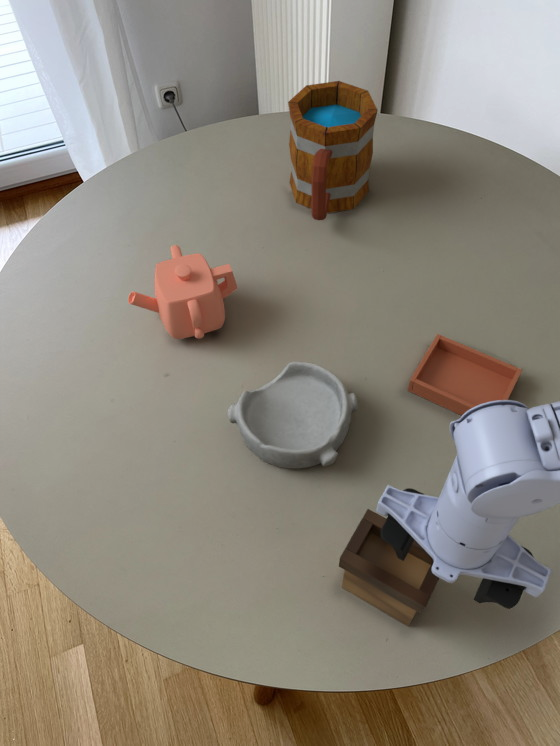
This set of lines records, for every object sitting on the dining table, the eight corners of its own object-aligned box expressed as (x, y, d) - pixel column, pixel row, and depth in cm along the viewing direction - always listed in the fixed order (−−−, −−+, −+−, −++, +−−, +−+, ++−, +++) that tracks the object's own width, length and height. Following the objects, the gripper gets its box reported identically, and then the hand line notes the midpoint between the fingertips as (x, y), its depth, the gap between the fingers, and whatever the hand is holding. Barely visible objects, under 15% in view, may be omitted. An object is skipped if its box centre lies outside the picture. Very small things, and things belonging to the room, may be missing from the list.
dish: (218, 438, 82) (214, 417, 78) (281, 364, 88) (280, 341, 84) (314, 498, 77) (315, 479, 73) (373, 415, 83) (377, 394, 79)
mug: (296, 158, 114) (296, 77, 102) (373, 165, 112) (382, 84, 100) (274, 235, 103) (270, 154, 91) (359, 244, 101) (367, 164, 89)
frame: (446, 561, 65) (451, 552, 63) (421, 614, 62) (425, 607, 60) (365, 517, 68) (367, 508, 66) (338, 566, 65) (339, 558, 63)
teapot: (134, 331, 93) (118, 284, 85) (182, 277, 98) (171, 228, 90) (201, 363, 89) (191, 317, 81) (247, 305, 95) (242, 257, 87)
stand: (427, 586, 71) (439, 563, 65) (408, 627, 68) (418, 607, 62) (362, 549, 73) (368, 523, 67) (341, 587, 71) (345, 564, 65)
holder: (517, 380, 86) (522, 369, 84) (493, 430, 82) (498, 420, 80) (434, 344, 90) (437, 333, 88) (407, 390, 85) (409, 379, 83)
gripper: (365, 510, 51) (353, 567, 62) (549, 609, 46) (500, 652, 57) (404, 441, 54) (386, 508, 65) (579, 527, 49) (527, 583, 60)
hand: (442, 571), depth 61 cm, fingers open, 7 cm apart
